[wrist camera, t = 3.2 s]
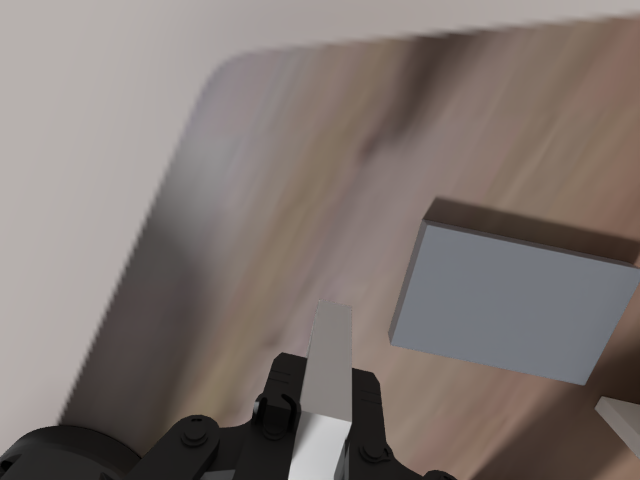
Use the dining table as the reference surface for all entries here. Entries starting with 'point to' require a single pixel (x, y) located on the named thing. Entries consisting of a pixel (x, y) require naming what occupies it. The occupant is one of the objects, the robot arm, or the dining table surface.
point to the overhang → (622, 420)
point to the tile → (510, 302)
